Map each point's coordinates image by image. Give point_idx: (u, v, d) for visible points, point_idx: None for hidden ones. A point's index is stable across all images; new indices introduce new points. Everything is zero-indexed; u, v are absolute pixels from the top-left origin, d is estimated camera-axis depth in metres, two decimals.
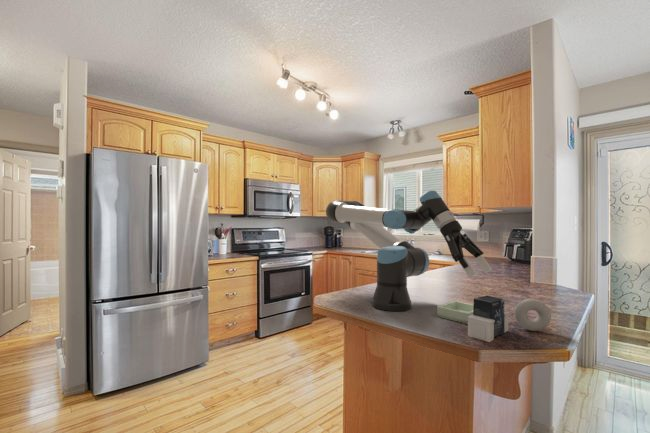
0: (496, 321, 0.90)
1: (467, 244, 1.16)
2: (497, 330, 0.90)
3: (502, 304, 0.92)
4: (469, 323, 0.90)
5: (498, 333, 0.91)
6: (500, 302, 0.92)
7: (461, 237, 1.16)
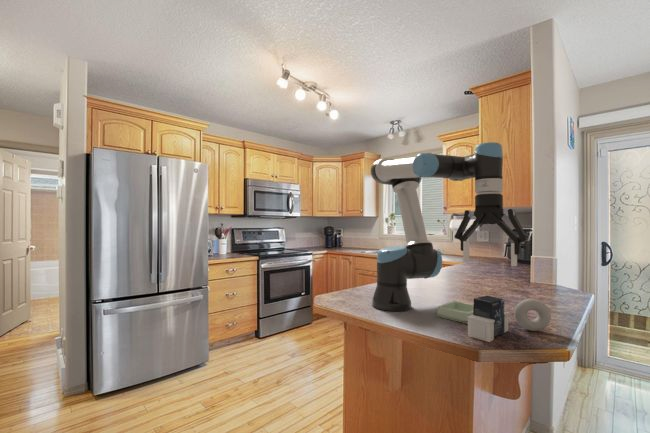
0: (496, 321, 0.90)
1: None
2: (497, 330, 0.90)
3: (502, 304, 0.92)
4: (469, 323, 0.90)
5: (498, 333, 0.91)
6: (500, 302, 0.92)
7: None
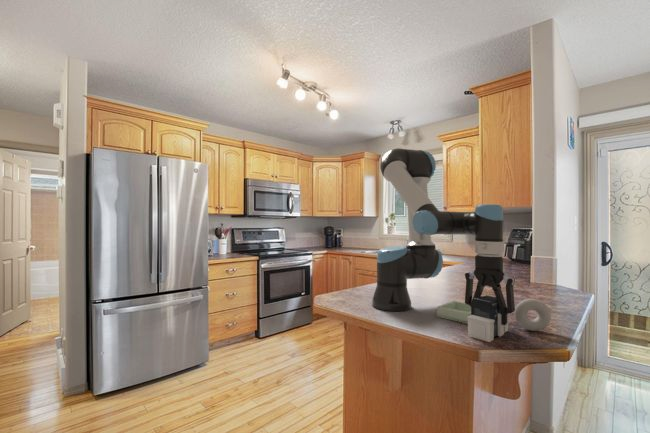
0: (496, 321, 0.90)
1: None
2: (497, 330, 0.90)
3: None
4: (469, 323, 0.90)
5: None
6: None
7: None
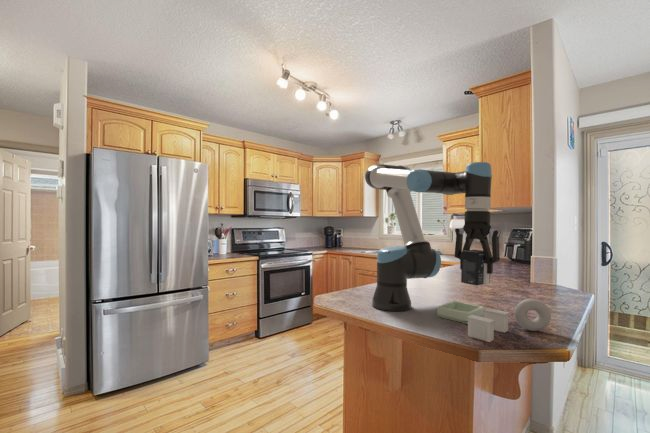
0: (482, 270, 0.97)
1: None
2: (483, 278, 0.97)
3: None
4: (469, 323, 0.90)
5: None
6: None
7: None
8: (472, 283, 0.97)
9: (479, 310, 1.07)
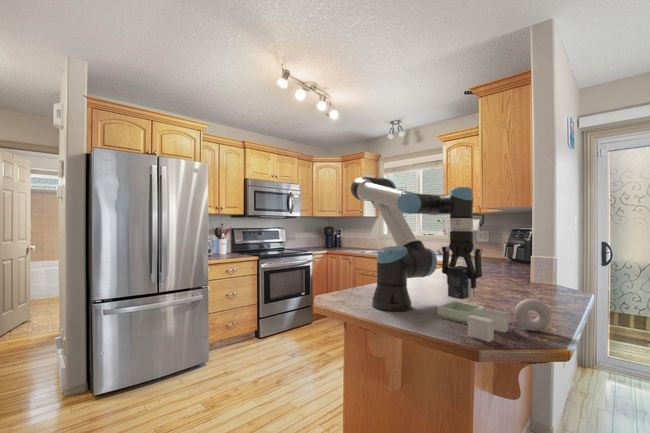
0: (467, 285, 1.07)
1: None
2: None
3: None
4: (469, 323, 0.90)
5: None
6: None
7: None
8: (458, 297, 1.06)
9: (479, 310, 1.07)
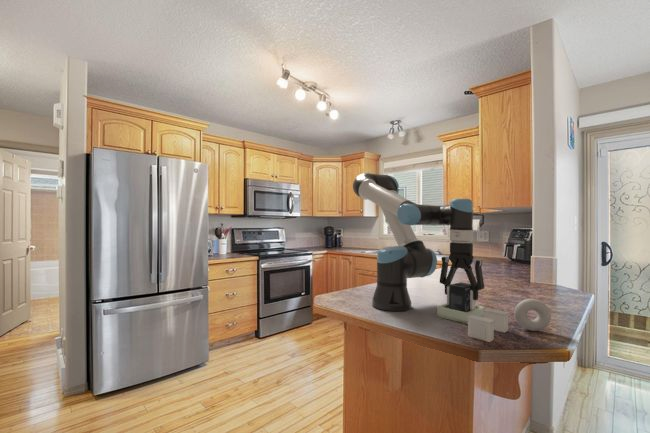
0: (468, 303, 1.06)
1: None
2: None
3: None
4: (469, 323, 0.90)
5: None
6: None
7: None
8: None
9: (479, 310, 1.07)
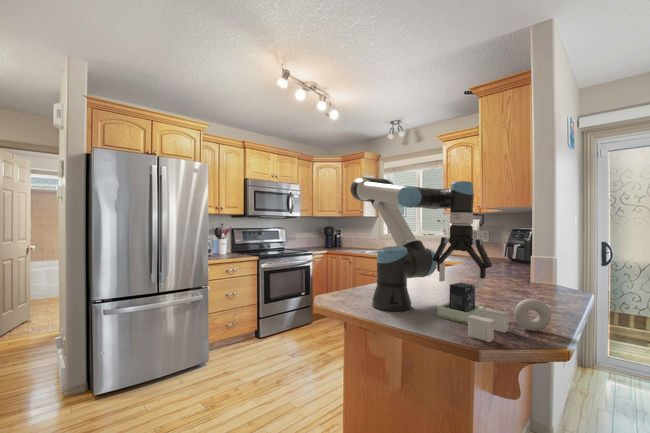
0: (468, 303, 1.06)
1: None
2: None
3: (473, 289, 1.08)
4: (469, 323, 0.90)
5: None
6: (472, 287, 1.08)
7: None
8: None
9: (479, 310, 1.07)
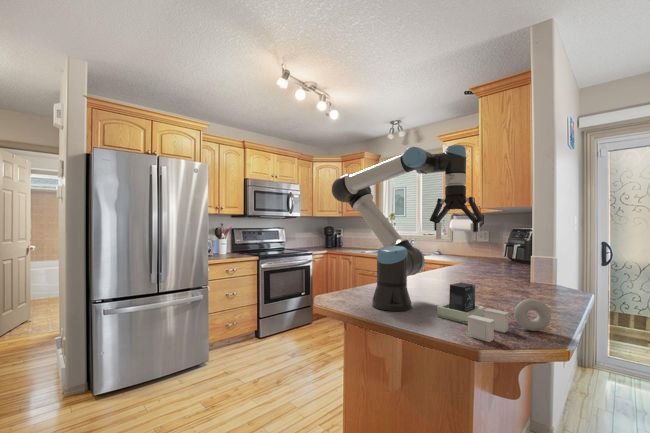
0: (468, 303, 1.06)
1: None
2: None
3: (473, 289, 1.08)
4: (469, 323, 0.90)
5: None
6: (472, 287, 1.08)
7: None
8: None
9: (479, 310, 1.07)
